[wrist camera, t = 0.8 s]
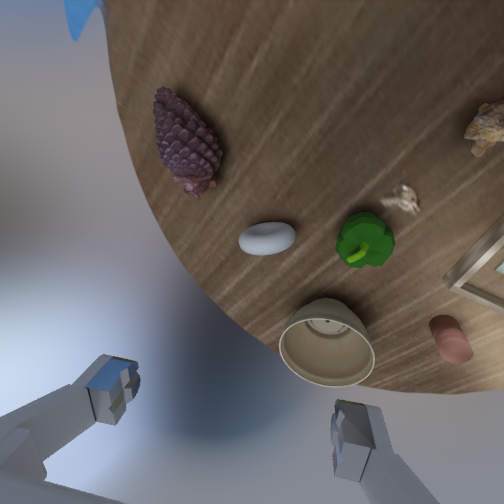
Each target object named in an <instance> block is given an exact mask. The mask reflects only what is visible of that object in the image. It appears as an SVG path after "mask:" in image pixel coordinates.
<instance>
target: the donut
mask: <svg viewBox="0 0 504 504" xmlns="http://www.w3.org/2000/svg"><path fill="white" fill-rule="evenodd" d="M294 241H295V230H294V229H293V228H292V227H291V226H290V225H289V224H286V223H282V222H267V223H261V224H257V225H254V226H251V227H249V228H247V229H246V230H244V231H243V232H242V233H241V235H240V237H239V244H240V247H241V249H242V250H244V251H245V252H247V253H249V254H253V255H270V254H275V253H278V252H281V251H284V250H286V249H287V248H289V247H290V246H291V245H292V244H293V243H294Z"/></svg>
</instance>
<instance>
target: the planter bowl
mask: <svg viewBox="0 0 504 504" xmlns="http://www.w3.org/2000/svg"><path fill="white" fill-rule="evenodd" d="M326 320H329V322H327V321H326ZM279 349H280V354H281V357H282V359H283V360H284V362H285V363H286V365H287V366H288V367H289V368H290V369H291V370H292V371H293V372H294V373H295V374H297V375H298V376H300V377H301V378H303V379H305V380H307V381H309V382H312V383H314V384H317V385H321V386H326V387H347V386H351V385H355V384H357V383H359V382H361V381H363V380H364V379H365V378H367V377H368V376H369V374H370V373H371V371H372V369H373V367H374V363H375V356H374V351H373V348H372V345H371V342H370V338H369V335H368V333H367V330H366V328H365V327H364V325H363V323H362V322H361V320H360V319H359V318H358V317H357V316H356V315H355V314H354V313H353V312H352V311H351V310H350V309H349V308H348V307H347V306H346V305H345V304H343V303H342V302H340V301H338V300H335V299H331V298H320V299H317V300H314V301H312V302H311V303H309V304H307V305H305V306H304V307H302V308H301V309H299V310H298V311H297V312H296V313H295V314H294V315H293V316H292V317H291V319H290V320H289V322H288V324H287V325H286V328H285V330H284V331H283V333H282V335H281V338H280V342H279Z"/></svg>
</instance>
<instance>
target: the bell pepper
mask: <svg viewBox="0 0 504 504" xmlns="http://www.w3.org/2000/svg"><path fill="white" fill-rule="evenodd" d="M394 246H395V239H394V235H393V232H392V230H391V228H390V227H388V226H387V225H385V224H384V222H383V220H381V219H380V218H378V217H377V216H376V215H374V214H373V213H370V212H359V213H357V214H355V215H352V216H350V217H349V219H348V220H347V221H346V222H345V224H344V225H343V226H342V230H341V231H340V233H339V234H338V238H337V244H336V251H337V253H338V254H339V256H340V258H341V259H342V260H343V261H344V262H345V263H346V264H347V265H348V266H349V267H355V268H362V267H363V266H365V265H366V264H368V265H371V266H373V267H375V266H382V265H383V263H384V262H385V261H386V260H387V259H388V257H389V256H390V255H391V254H392V251H393V249H394Z"/></svg>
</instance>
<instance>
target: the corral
mask: <svg viewBox="0 0 504 504" xmlns="http://www.w3.org/2000/svg"><path fill="white" fill-rule="evenodd" d="M503 245H504V214H503V215H502V216H501V217H500V218H499V219H498V220H497V221H496V222H495V223H494V224H493V225H492V226H491V228H490V229H489V230H488V231H487V232H486V233H485V234H484V235H483V236H482V237H481V238H480V239H479V240H478V241H477V242H476V243H475V244H474V245H473V247H472V248H471V249H470V250H469V251H468V252H467V253H466V254H465V255H464V256H463V257H462V258H461V259H460V260H459V261H458V262H457V263H456V264H455V266H454V267H453V268H452V269H451V270H450V271H449V272H448V273H447V274H446V275H445V276H444V277H443V280H444V282H445V283H446V285H447V287H448V288H449V290H451V291H453V292H456V293H458V294H460V295H462V296H464V297H466V298H468V299H471V300H473V301H475V302H477V303H479V304H481V305H483V306H486V307H488V308H490V309H492V310H494V311H496V312H498V313H500V314H503V315H504V300H502V299H500V298H498V297H495V296H493V295H491V294H489V293H487V292H485V291H482V290H480V289H478V288H476V287H474V286H472V285H469V284H467V283H465V282H466V281H467V280H468V279H469V278H470V277H471V276H472V275H473V274H474V273H475V272H477V271H478V270H479V269H480V268H481V267H482V266H483V265H484V264H485V263H486V262H487V261H488V260H489V259H490V258H491V257H492V256H493V255H494V254H495V253H496V252H497V251H498V250H499V249H500V248H501V247H502V246H503ZM495 270H496V271H498V272H500V273H502V274H504V260H503V261H502V262H501V263H500V264H499V265H498V266H497V267H496V268H495Z"/></svg>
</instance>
